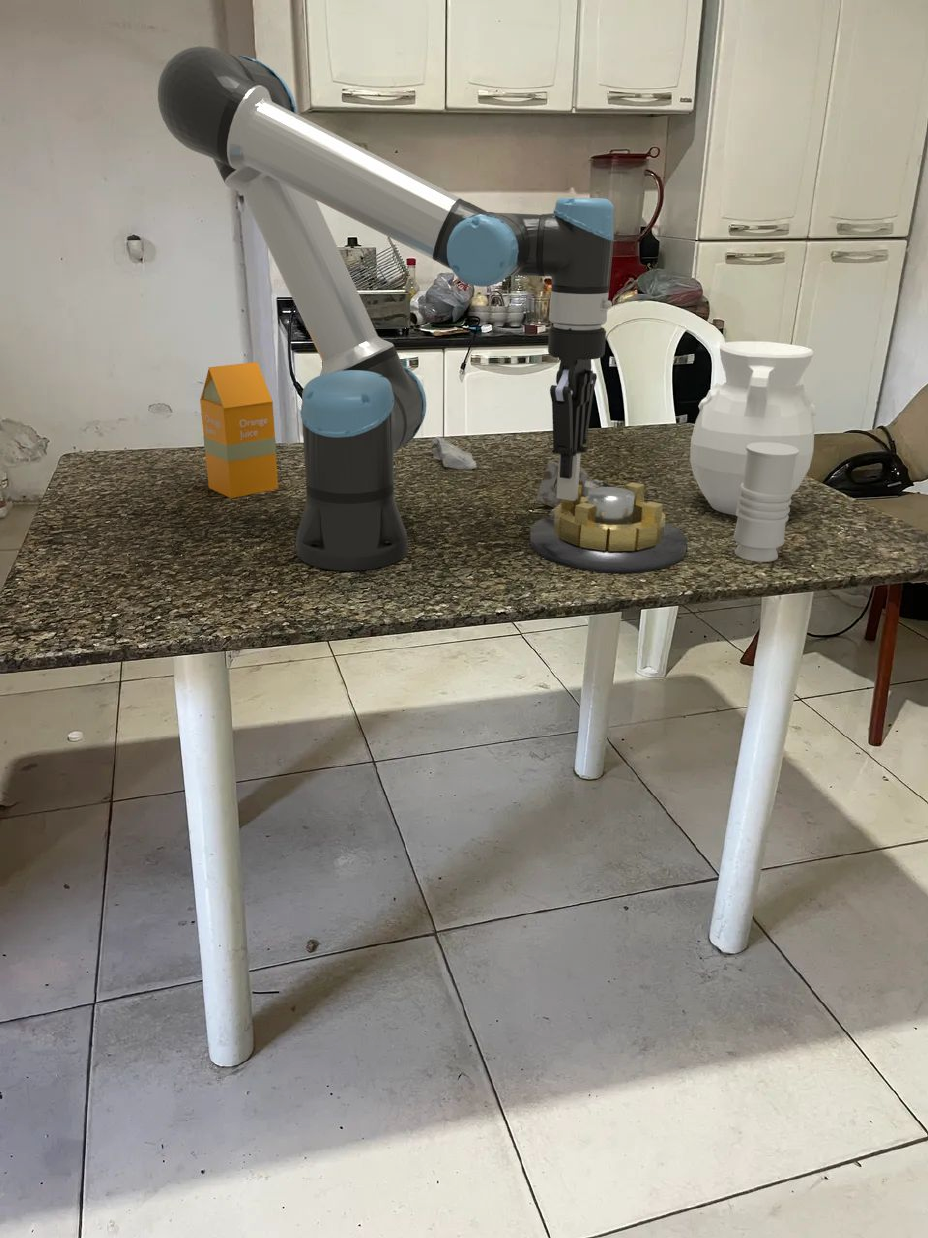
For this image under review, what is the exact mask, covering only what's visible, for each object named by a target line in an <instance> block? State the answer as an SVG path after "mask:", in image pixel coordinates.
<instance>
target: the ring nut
mask: <svg viewBox="0 0 928 1238" xmlns="http://www.w3.org/2000/svg"><path fill="white" fill-rule="evenodd" d="M581 489H582V486H581V485H579V486H578V499H576V500H575V501H571V500H564V499H561V503H560V504H559V505H558V506H557V507H556V508H554V507H553V509H550V516H551V520H554V531H555V533H556V534H557V536H558V538H560V539H562V540H564V541H567V542H569V543H571V544H573V545H576V546H579V545H580V547H584V548H590V549H596V550H603V551H606V550H608V551H635V550H640V549H644V548H648V547H651V546H655V545H656V544H658V543H659V542H660V541H661V539H662V538H663V537H664V528H665V522H666V520H667V519H666V517H667V516H666V515H667V514H665V512H663V509H664V508H663V507H664V504H662V503H659V502H654V501H647V502H645V501H644V502H643V496H644V495H645V494H644V493H645V484H641V483H638V482H629V483H627V484H625V486H624V489H627V490H629V491H632V492H633V493H634V494H635V497H634V508H633V518H632V524H631V525H606V524H599V523H595V517H596V505H593V504H589V503H588V496H586V497H581Z"/></svg>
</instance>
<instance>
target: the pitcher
mask: <svg viewBox="0 0 928 1238" xmlns="http://www.w3.org/2000/svg"><path fill="white" fill-rule="evenodd" d="M719 351H720V361H721V363H722V366H723V367H722V368H723V370H724V375H725V382H724V383H723V384H720V383H715V385H714V386H713V388H711V389H709V390H708V392H707V394H706V396H705V397H703V399H701V401H700V402H699V404H698V409H699V410H698V411H699V413H698V415H697V417H696V419H695V423H694V426H693V427H694V428H693V431H692V434H691V439H690V454H689V462H690V466H691V469H692V474H693V477H694V480H695V481H696V483H697V485H698V487H699V490H700V492H701V493H702V495H703V496H704V497H705V499H706V501H707V502H708V504H709V505H710V506H711V508H712V509H714V510H715V511H717V512H720V513H723V514H726V515H727V514H728V515H732V516H736V508H737V501H738V494H739V487H740V485H741V484H742V483H743V481H744V474H745V467H746V460H747V453H748V452H747V450H746V446H747V445H748V444H751V443H756V442H772V443H781V444H786V445H790V446H793V447H796V448H797V449H799V454H798V455H797V456H796V460H795V466H794V472H793V478H792V484H791V489H792V491H793V493H795V492H796V491H797V490H798V489H799V488H800V487H801V485H802V483H803V481H804V479H805V477H806V476H807V473H808V471H809V470H810V467H811V464H812V459H813V454H814V449H815V448H814V447H815V446H814V444H815V443H814V441H815V427H814V426H815V425H814V416H816V415H817V411H816V409H817V408H816V405H815V404H813V403H812V398H811V396H810V394H809V393H807V392H806V391H805V385H804V383H803V384H798V382H799V381H800V379H801V378H802V376H803V375H804V373H805V371H806V370H807V368H808V367H809V365H810V363H811V361H812V358H813V356H814V354H815V352H814V350H813V349H811V348H809V347H806V346H803V345H797V344H789V343H782V342H775V341H774V342H773V341H755V340H753V341H751V340H750V341H748V340H745V341H744V340H743V341H727V342H723V343H721V345H720V346H719ZM797 384H798V385H797Z"/></svg>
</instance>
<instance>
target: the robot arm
mask: <svg viewBox="0 0 928 1238" xmlns="http://www.w3.org/2000/svg"><path fill="white" fill-rule="evenodd" d="M157 103H158V108H159V109H158V110H159V111H160V115H161V118H162V120H163V122H164V124H165V126H166V128H167V129H168V131H169V132H170V134H171V135H172V136H173V137H174V138H175V139H176V140H177V141H178V142H179V143H181V144H182V145H183V146H184V147H186V148H187V149H189V150H191V151H194V152H196V153H199V154H202V155H204V156H206V157H208V158H211V159H213V161H214V164H215V165H216V168H217V170H218V172H219V175H220V176H221V178H222V180H223V182H224V185H225V186H226V187H228V188H230V189H232V190H234V191H237V192H240V194H242V196H243V198H244V200H245V202H246V204H247V206H248V209H249V210H250V212H251V215H252V217H253V219H254V221H255V222H256V224H257V227H258V229H259V231H260V233H261V235H262V237H263V240H264V242H265V243H266V246H267V248H268V250H269V252H270V254H271V256H272V259H273V261H274V263H275V265H276V267H277V269H278V271H279V273H280V275H281V277H282V280H283V281H284V284H285V285H286V288H287V290H288V292H289V294H290V296H291V298H292V300H293V303H294V305H295V306H296V309H297V311H298V312H299V315H300V317H301V320H302V321H303V324H304V325H305V328H306V330H307V332H308V334H309V335H310V338H311V340H312V342H313V344H314V347H315V349H316V351H317V353H318V354H319V356H320V359H321V361H322V367H321V369H320V373H319V375H318V376H315V377H314V378H312V379H310V380H309V381H308V382H307V383H306V384H305V386H304V387H303V390H302V394H301V407H300V408H301V409H300V418H301V421H302V424H301V425H302V437H303V438H302V439H303V440H302V441H303V454H304V456H303V457H304V470H305V471H304V472H305V487H306V501H305V503H304V508H303V511H302V515H301V518H300V521H299V525H298V528H297V532H296V536H295V546H296V547H295V549H296V555H297V557H298V559H299V560H300V561H301V562H302V563H305V564H308V565H310V566H313V567H315V568H319V569H325V570H330V571H331V570H332V571H345V572H347V571H350V572H353V571H354V572H355V571H365V570H366V571H367V570H372V569H373V570H374V569H378V568H384V567H387V566H390V565H392V564H395V563H397V562H399V561H400V560H402V559H403V558H405V557H406V555H407V553H408V534H407V531H406V528H405V525H404V521H403V519H402V516H401V513H400V510H399V507H398V505H397V502H396V499H395V490H394V488H395V486H394V482H395V478H394V477H395V475H394V472H395V471H394V468H395V467H394V466H395V465H394V464H395V463H394V455H395V453H396V452H397V451H398V450H400V449H401V448H402V447H404V446H406V445H407V444H409V442H410V441H412V440H413V439H414V438H415V436H416V435H417V433H419V430H420V428H421V427H422V424H423V422H424V420H425V417H426V414H427V413H426V412H427V397H426V393H425V390H424V386H423V384H422V382H421V380H420V379H419V378H418V377H417V375H416V374H415V373H414V372H413V371H412V370H410V369H409V368H408V367H405V366H404V365H403V363H402V360H401V359H400V356H399V354H398V351H397V349H396V347H395V345H394V344H393V343H392V342H390V341H387V340H385V339H382V338H381V337H380V336H379V335H378V333H377V331H376V329H375V327H374V325H373V323H372V320H371V318H370V316H369V314H368V311H367V309H366V307H365V304H364V303H363V300H362V298H361V296H360V294H359V291H358V289H357V287H356V285H355V282H354V281H353V279H352V277H351V274H350V272H349V270H348V268H347V265H346V263H345V261H344V258H343V256H342V255H341V252H340V250H339V248H338V245H337V243H336V241H335V239H334V237H333V234H332V232H331V230H330V228H329V225H328V223H327V221H326V219H325V217H324V215H323V213H322V210H321V209H320V206H319V204H318V202H319V203H321V204H322V205H325V206H327V207H329V208H331V209H333V210H335V211H337V212H339V213H340V214H343V215H344V216H347V217H349V218H351V219H353V220H354V221H356V222H359V223H361V224H363V226H364V225H365V226H366V227H368V228H370V229H372V230H375V231H376V232H378V233H380V234H383V235H384V236H386V237H388V238H390V239H392V240H394V241H396V242H398V243H400V244H401V245H403V246H406V247H408V248H410V249H412V250H413V251H416V252H418V253H420V254H422V255H424V256H426V257H428V258H430V259H432V260H433V261H435V262H437V263H439V264H440V265H442V266H444V267H446V268H447V269H450V270H451V271H452V272H453V273H454V275H455V276H456V277H457V279H459V280H460V281H462V282H463V283H465V284H467V285H469V286H470V285H471V286H475V287H481V288H483V287H484V288H485V287H491V286H494V285H497V284H499V283H501V282H503V281H504V280H505V279H507V278H508V277H511V276H512V277H513V276H514V277H542V278H543V277H551V285H550V286H551V287H550V301H549V313H548V315H549V317H548V321H549V322H550V323H552V324H553V325H552V326H551V327H550V328H549V329H548V342H547V343H548V346H547V352H548V354H549V356H550V357H553V358H557V359H559V361H560V363H559V366H558V367H559V368H558V370H557V372H556V377H555V383H556V385H555V384H552V385H551V386H550V388H549V394H550V400H551V410H552V411H551V412H552V414H551V415H552V418H551V419H552V442H553V443H552V445H553V446H552V447H553V448H552V453H553V454H558V478H557V496H556V498H557V499H564V500H571V501H575V500H576V499H578V486H579V472H580V466H581V456H582V453H587V452H588V447H587V446H584V445H586V444H587V441H588V432H589V428H590V427H589V425H590V420H591V419H590V417H591V412H592V404H593V399H594V397H593V396H594V391H595V386H596V382H597V379H598V375H597V373H595V372H594V371H593V370H592V360H596V359H601V358H603V356H604V355H605V352H606V339H607V330H606V329H605V327H603V325H605V324H606V323H607V320H608V309H611V308H612V306H613V303H612V301H611V300H608V299H609V291H610V281H611V270H612V269H611V268H612V259H613V251H614V250H613V247H614V224H615V223H614V222H615V219H614V218H615V205H614V204H613V203H612V201H610V199H607V198H602V197H601V198H600V197H598V198H597V197H595V198H593V197H559V198H557V200H556V201H555V205H554V209H553V213H541V214H538V213H537V214H536V213H534V214H533V213H513V212H512V213H511V212H493V211H486V210H485V209H483V208H481V207H479V206H477V205H475V204H473V203H471V202H470V201H469V202H468V201H466V200H464V199H462V198H460V197H459V196H457V195H455V194H453V193H451V192H449V191H447V190H445V189H444V188H441V187H439V186H437V185H435V184H433V183H431V182H430V181H428V180H426V179H424V178H422V177H419V176H418V175H416V174H414V173H412V172H410V171H408V170H406V169H405V168H402V167H400V166H399V165H396V164H394V163H393V162H390V161H388V160H387V159H385V158H382V157H380V156H379V155H377V154H375V153H373V152H372V151H369V150H367V149H365V148H363V147H361V146H359V145H357V144H355V143H353V142H352V141H349V140H347V139H346V138H344V137H342V136H339V135H338V134H337V133H334V132H332V131H330V130H328V129H326V128H324V127H322V126H320V125H318V124H316V122H315V123H314V122H313V121H311V120H309V119H306V118H305V117H303V116H300V115H299V114H298V112H297V111H298V110H297V105H296V101H295V99H294V96H293V94H292V91H291V89H290V87H289V86H288V84H287V83H286V81H285V80H284V79H283V78H282V77H281V76H280V75H279V74H278V73H277V72H276V71H274V70H273V69H272V68H270V67H269V65H267V64H265V63H263V62H261V61H260V60H258V59H255V58H252V57H249V56H245V55H235V54H232V53H229V52H227V51H223V50H221V49H217V48H216V47H211V46H201V45H200V46H193V47H188V48H185V49H183V50H181V51H179V52H177V53H176V54H175V55H174V56H173V57H172V58H171V59H169V60H168V62H167V63H166V64H165V67H164V68H163V70H162V72H161V74H160V76H159V80H158V85H157ZM579 452H580V453H579Z"/></svg>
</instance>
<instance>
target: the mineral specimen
mask: <svg viewBox="0 0 928 1238" xmlns="http://www.w3.org/2000/svg"><path fill="white" fill-rule="evenodd" d="M431 443H432V445H433V446H434V447H435V448H434V450H433V457H432V458H433V459H435V460H436V461H437V460H438V461H442V466H443V468H449V469H456V470H468V471H471V470H474V469H477V462H476V460H475V459H474V457H473V455H472V454H471V453H470V452H466V451H464V450H463V449H461V448H459V447H458V446H456V445H455V444H452V443H450V442H449V441H447V440H446V439H444V438H443V437H440V436H439V435H438V436H436V437H434V438H433V439H431Z"/></svg>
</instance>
